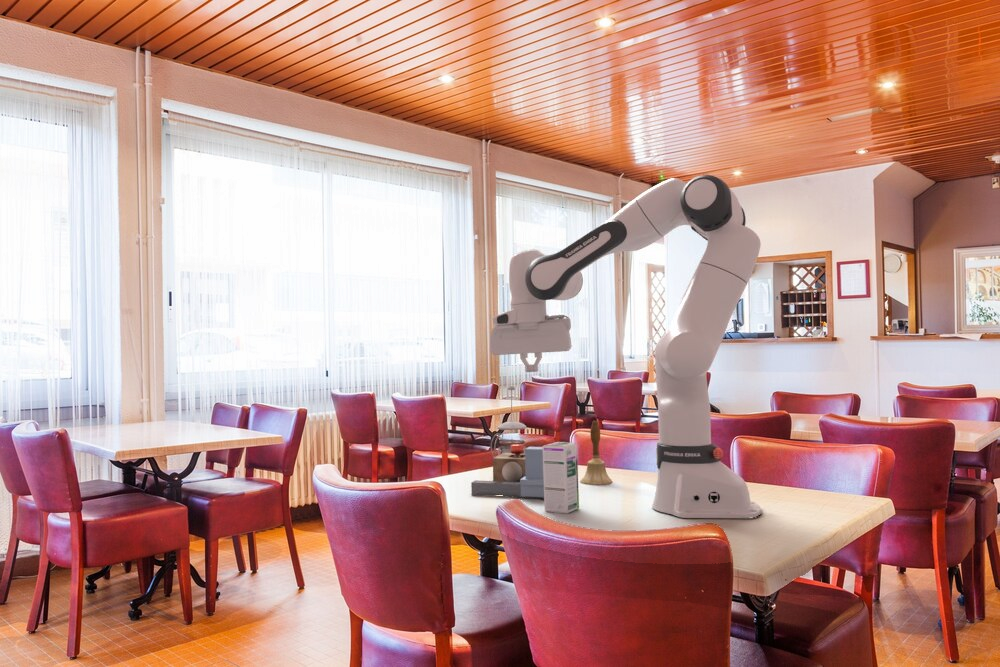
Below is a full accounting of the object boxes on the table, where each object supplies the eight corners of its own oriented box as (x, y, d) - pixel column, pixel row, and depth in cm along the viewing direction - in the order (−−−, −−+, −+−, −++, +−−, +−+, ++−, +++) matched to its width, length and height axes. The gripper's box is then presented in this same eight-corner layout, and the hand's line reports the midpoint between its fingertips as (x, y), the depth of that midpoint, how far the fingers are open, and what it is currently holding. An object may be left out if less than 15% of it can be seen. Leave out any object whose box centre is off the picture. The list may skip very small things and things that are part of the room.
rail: (559, 496, 178) (559, 483, 178) (556, 498, 175) (556, 485, 175) (475, 492, 184) (475, 480, 184) (471, 495, 181) (471, 482, 181)
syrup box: (567, 514, 159) (566, 445, 159) (543, 511, 162) (542, 444, 163) (579, 509, 164) (578, 442, 164) (555, 506, 167) (554, 441, 167)
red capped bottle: (526, 475, 191) (525, 444, 191) (522, 478, 188) (522, 446, 188) (513, 475, 192) (512, 443, 192) (509, 477, 189) (509, 445, 189)
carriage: (551, 492, 181) (550, 446, 181) (545, 497, 174) (544, 450, 174) (527, 491, 182) (526, 445, 182) (520, 496, 176) (519, 449, 176)
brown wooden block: (541, 484, 193) (541, 453, 193) (531, 492, 183) (531, 459, 183) (504, 483, 196) (504, 452, 196) (492, 490, 186) (492, 458, 186)
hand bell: (614, 484, 192) (613, 422, 192) (581, 485, 192) (581, 422, 192) (610, 479, 200) (609, 419, 201) (579, 479, 200) (578, 419, 201)
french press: (538, 477, 204) (536, 385, 205) (504, 482, 198) (502, 387, 198) (515, 472, 212) (514, 384, 213) (482, 477, 205) (481, 386, 206)
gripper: (572, 313, 186) (575, 369, 186) (493, 319, 192) (496, 373, 192) (567, 312, 180) (570, 370, 180) (486, 318, 186) (489, 374, 186)
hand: (532, 371), depth 186 cm, fingers closed
